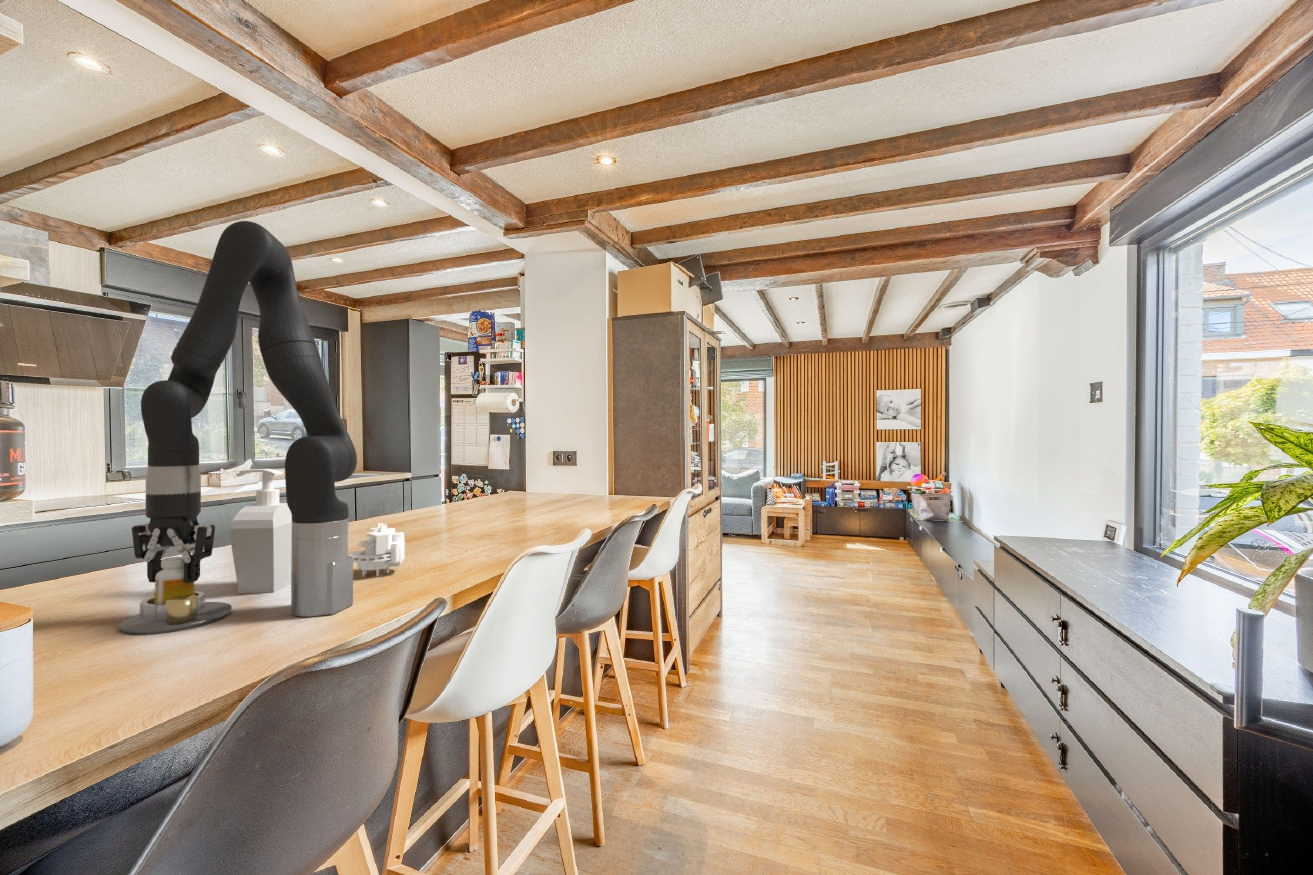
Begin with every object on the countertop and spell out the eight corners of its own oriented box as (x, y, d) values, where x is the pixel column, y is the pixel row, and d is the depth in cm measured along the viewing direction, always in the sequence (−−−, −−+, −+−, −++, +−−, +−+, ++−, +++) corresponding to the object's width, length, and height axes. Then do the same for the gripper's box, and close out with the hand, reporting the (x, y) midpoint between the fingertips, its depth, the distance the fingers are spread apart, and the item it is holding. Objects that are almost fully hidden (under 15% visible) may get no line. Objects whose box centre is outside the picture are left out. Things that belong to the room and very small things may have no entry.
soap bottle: (253, 580, 121) (254, 467, 121) (302, 579, 123) (302, 467, 123) (218, 596, 109) (219, 471, 109) (273, 594, 111) (273, 471, 111)
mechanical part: (353, 570, 131) (353, 522, 131) (406, 566, 136) (406, 520, 136) (344, 582, 121) (344, 530, 121) (402, 577, 125) (403, 527, 125)
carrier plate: (252, 606, 103) (252, 582, 103) (179, 635, 88) (179, 606, 88) (178, 604, 104) (178, 580, 104) (93, 633, 89) (93, 604, 89)
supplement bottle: (201, 607, 100) (203, 556, 100) (172, 617, 95) (174, 562, 95) (175, 606, 101) (177, 554, 101) (145, 615, 95) (147, 560, 95)
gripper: (229, 488, 101) (228, 577, 101) (156, 487, 102) (156, 575, 102) (192, 493, 93) (192, 588, 94) (114, 492, 94) (114, 586, 94)
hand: (173, 581), depth 98 cm, fingers open, 6 cm apart
